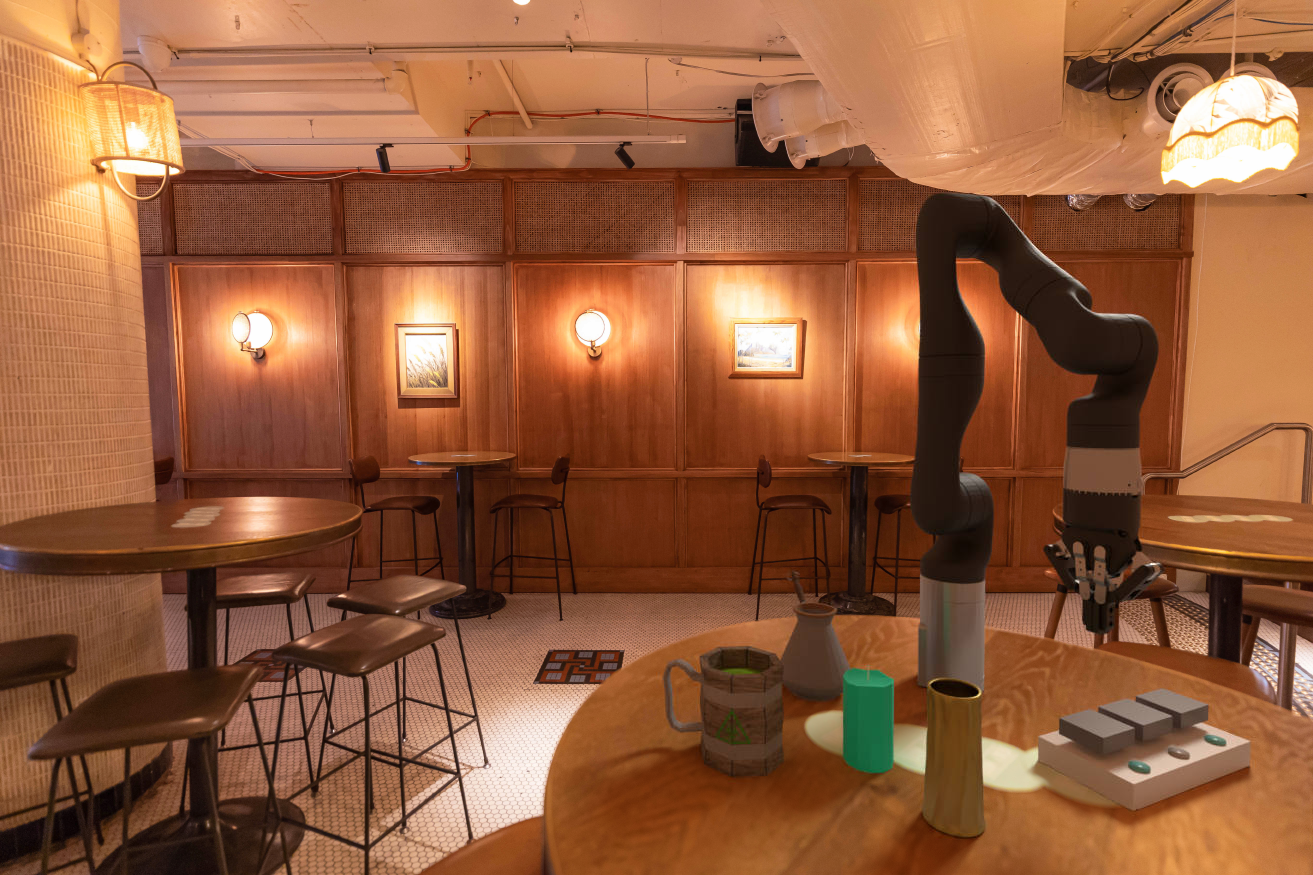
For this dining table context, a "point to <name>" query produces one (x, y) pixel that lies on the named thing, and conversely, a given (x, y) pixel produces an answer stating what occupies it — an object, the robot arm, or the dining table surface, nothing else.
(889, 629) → the dining table surface
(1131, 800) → the keypad
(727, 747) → the mug
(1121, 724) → the front key
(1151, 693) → the back key
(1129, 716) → the middle key
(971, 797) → the vase
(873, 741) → the candle
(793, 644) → the coffee pot
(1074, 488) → the robot arm
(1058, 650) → the dining table surface
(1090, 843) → the dining table surface
